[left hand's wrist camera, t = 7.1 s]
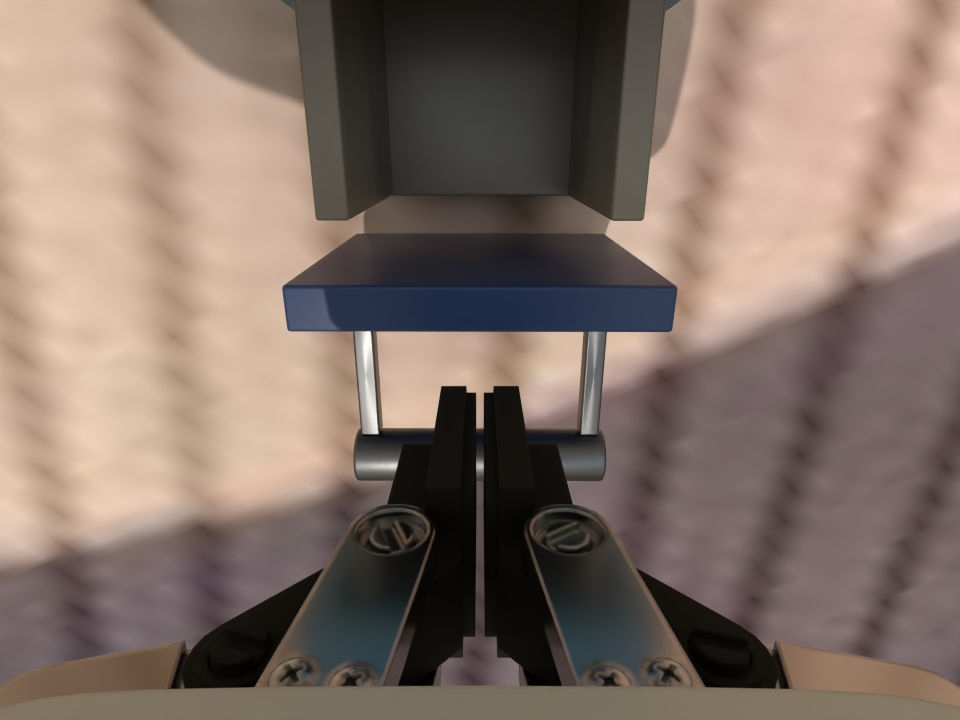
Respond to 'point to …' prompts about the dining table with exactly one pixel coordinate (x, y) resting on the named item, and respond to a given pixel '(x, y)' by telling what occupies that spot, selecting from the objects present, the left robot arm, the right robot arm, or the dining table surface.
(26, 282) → the dining table surface
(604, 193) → the drawer
